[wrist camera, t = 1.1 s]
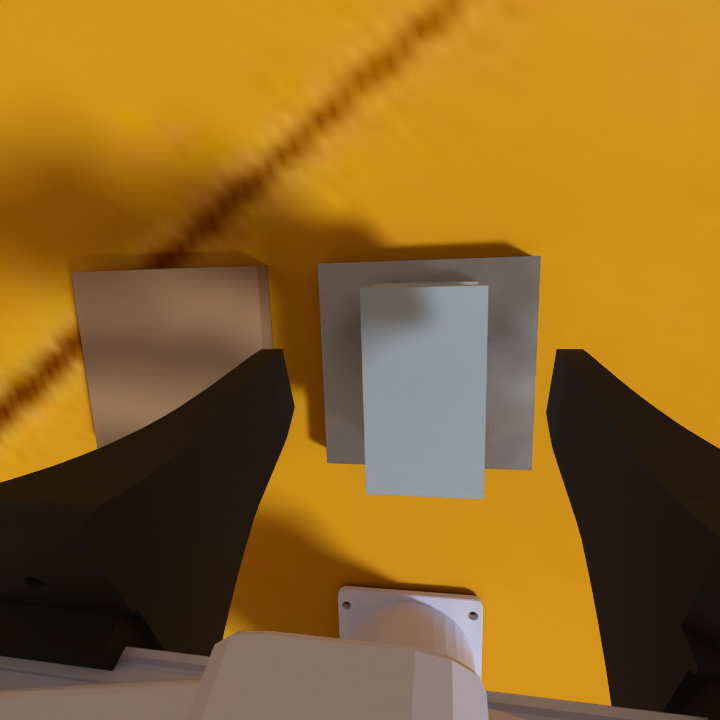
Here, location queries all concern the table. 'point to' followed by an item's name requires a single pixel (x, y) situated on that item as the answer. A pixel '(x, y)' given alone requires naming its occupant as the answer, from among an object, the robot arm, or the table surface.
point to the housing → (425, 388)
